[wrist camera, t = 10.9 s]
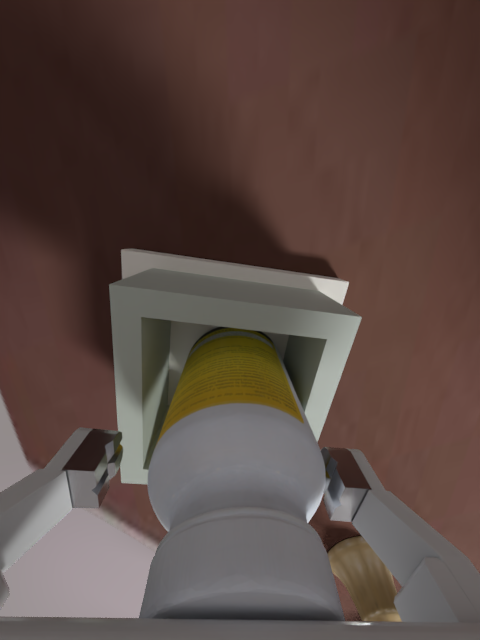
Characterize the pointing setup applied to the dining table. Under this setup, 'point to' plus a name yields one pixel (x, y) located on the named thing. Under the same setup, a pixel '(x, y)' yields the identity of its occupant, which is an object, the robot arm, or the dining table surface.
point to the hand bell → (365, 579)
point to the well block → (205, 314)
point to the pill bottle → (238, 492)
